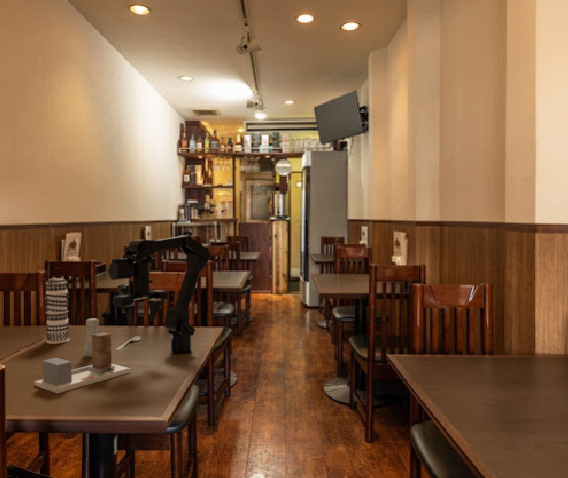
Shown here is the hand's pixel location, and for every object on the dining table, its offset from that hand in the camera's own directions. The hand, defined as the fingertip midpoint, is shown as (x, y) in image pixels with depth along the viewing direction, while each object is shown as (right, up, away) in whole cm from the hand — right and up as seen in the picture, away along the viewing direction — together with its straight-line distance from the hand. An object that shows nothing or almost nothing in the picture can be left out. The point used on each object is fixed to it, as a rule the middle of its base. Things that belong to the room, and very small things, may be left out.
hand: (142, 323), depth 170 cm
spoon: (-13, -13, +24) cm, 30 cm away
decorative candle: (-42, -13, +31) cm, 54 cm away
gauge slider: (-7, -12, -14) cm, 20 cm away
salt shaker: (-20, -13, +9) cm, 25 cm away
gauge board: (-12, -14, -18) cm, 26 cm away
